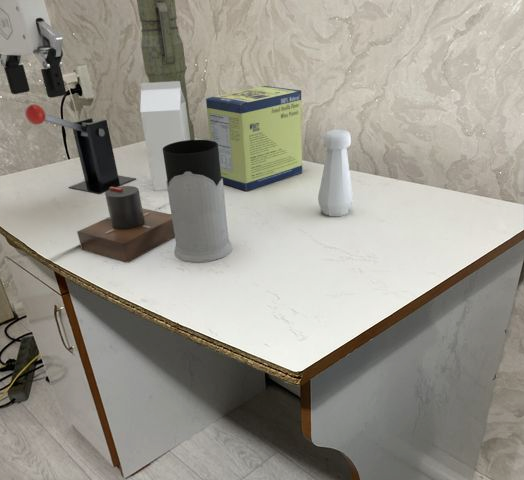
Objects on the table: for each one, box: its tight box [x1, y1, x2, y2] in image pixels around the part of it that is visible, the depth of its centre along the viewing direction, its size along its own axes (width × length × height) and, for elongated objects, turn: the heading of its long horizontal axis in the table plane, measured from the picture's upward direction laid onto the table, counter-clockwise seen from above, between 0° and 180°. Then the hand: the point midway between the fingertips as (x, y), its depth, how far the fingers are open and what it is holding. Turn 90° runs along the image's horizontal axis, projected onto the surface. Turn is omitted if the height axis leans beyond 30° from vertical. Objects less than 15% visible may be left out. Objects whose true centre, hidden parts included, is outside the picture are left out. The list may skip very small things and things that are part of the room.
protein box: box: [205, 85, 303, 192], centre depth 104 cm, size 10×16×16 cm
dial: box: [104, 185, 145, 229], centre depth 82 cm, size 5×5×5 cm
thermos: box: [136, 0, 196, 140], centre depth 116 cm, size 9×12×35 cm
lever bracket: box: [68, 117, 137, 195], centre depth 105 cm, size 10×9×13 cm
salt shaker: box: [317, 129, 354, 217], centre depth 87 cm, size 6×6×13 cm
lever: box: [24, 103, 89, 138], centre depth 97 cm, size 15×3×3 cm, turn 147°
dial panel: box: [76, 207, 175, 263], centre depth 84 cm, size 12×10×3 cm
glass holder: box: [163, 139, 233, 263], centre depth 79 cm, size 9×14×15 cm, turn 177°
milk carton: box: [139, 81, 190, 192], centre depth 100 cm, size 7×7×19 cm
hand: (38, 94), depth 87 cm, fingers open, 9 cm apart
